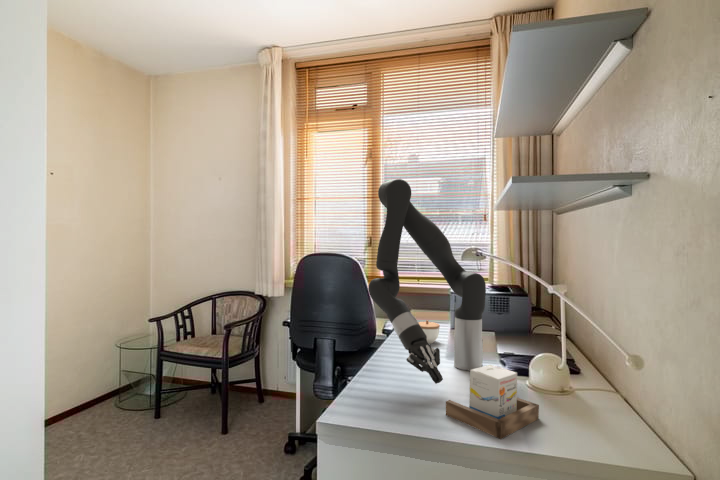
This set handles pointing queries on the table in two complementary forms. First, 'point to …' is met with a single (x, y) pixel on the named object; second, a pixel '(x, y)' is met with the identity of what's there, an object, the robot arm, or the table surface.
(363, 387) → the table surface
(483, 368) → the ink box
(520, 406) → the walnut corral
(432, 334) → the lidded jar
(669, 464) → the table surface
